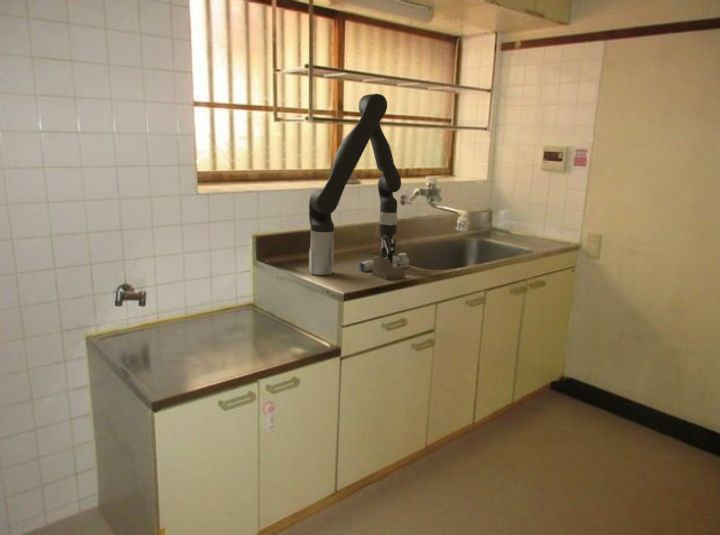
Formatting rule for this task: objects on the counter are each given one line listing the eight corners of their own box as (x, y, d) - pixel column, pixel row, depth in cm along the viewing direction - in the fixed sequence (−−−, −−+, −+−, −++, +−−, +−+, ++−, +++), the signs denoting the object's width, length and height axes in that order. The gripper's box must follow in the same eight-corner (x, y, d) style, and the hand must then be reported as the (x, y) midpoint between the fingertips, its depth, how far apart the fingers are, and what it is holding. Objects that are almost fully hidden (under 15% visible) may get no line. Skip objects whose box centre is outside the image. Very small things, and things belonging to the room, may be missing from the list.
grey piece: (357, 261, 223) (403, 249, 236) (358, 276, 225) (404, 263, 238) (364, 264, 218) (411, 251, 232) (366, 279, 220) (412, 265, 234)
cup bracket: (386, 280, 208) (387, 259, 207) (372, 274, 216) (373, 255, 214) (404, 277, 214) (405, 258, 212) (390, 272, 221) (391, 253, 219)
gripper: (374, 220, 230) (373, 257, 234) (384, 225, 217) (383, 264, 220) (391, 220, 232) (390, 256, 236) (402, 225, 219) (400, 263, 222)
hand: (386, 260), depth 228 cm, fingers open, 8 cm apart
